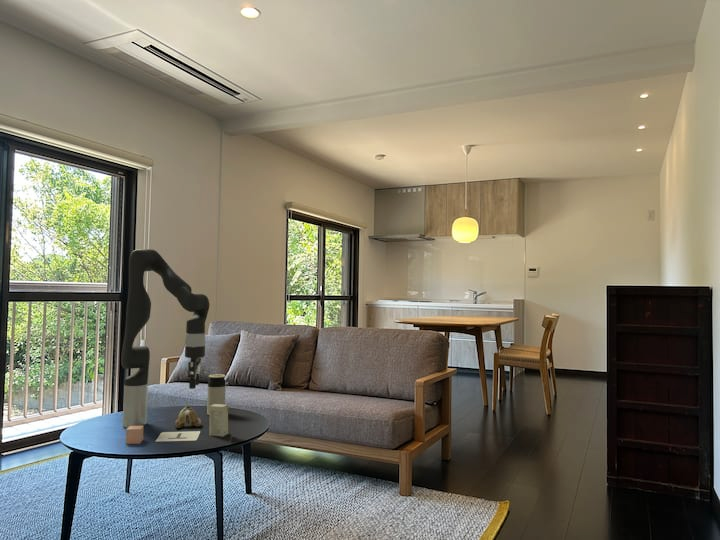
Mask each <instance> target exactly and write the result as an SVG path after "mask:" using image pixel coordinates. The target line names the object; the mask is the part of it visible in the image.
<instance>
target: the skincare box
mask: <svg viewBox="0 0 720 540" xmlns="http://www.w3.org/2000/svg"><path fill="white" fill-rule="evenodd" d="M208 422H209V429H208V430H209V432H208V433H209V434H208V435H209V436H212V437H225V436H227V435H228V434H229V404H225V405H224V404H214V405H211V406H210V415H209V421H208Z"/></svg>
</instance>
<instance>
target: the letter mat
mask: <svg viewBox="0 0 720 540" xmlns="http://www.w3.org/2000/svg"><path fill="white" fill-rule="evenodd" d="M200 433H201V431H200V430H197V431H193V430H192V431H162V432H161V433H160V434H159V436H158V437H157V438H156V440H155V441H154V442H156V443H157V442H158V443H159V442H183V441H186V442H187V441H189V442H190V441H191V442H192V441H197V440H198V438H199V436H200Z"/></svg>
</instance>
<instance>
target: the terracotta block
mask: <svg viewBox="0 0 720 540" xmlns="http://www.w3.org/2000/svg"><path fill="white" fill-rule="evenodd" d="M143 440H144V425H142V426H129V427H128V428H127V427H126V429H125V445H129V444H130V445H132V444H133V445H134V444H141V443H142V442H143Z"/></svg>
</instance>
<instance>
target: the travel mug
mask: <svg viewBox="0 0 720 540" xmlns="http://www.w3.org/2000/svg"><path fill="white" fill-rule="evenodd" d="M225 377H226V375H225V374H223V373H222V374H220V373H218V374H217V373H214V374H209V375H208V378H209V380H208V381H207V402H206V404H207V405H206V406H207V407H206V414H207V415H208V416H210V406H211V405H214V404H224V405H226V382H227V381H226V380H225Z"/></svg>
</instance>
